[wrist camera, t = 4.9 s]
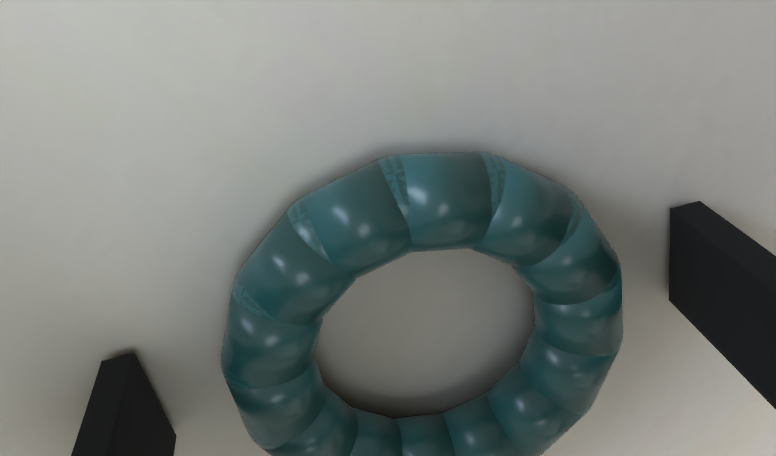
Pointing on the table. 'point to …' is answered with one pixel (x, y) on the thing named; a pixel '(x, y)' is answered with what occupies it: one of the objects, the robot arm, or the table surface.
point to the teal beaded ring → (392, 241)
